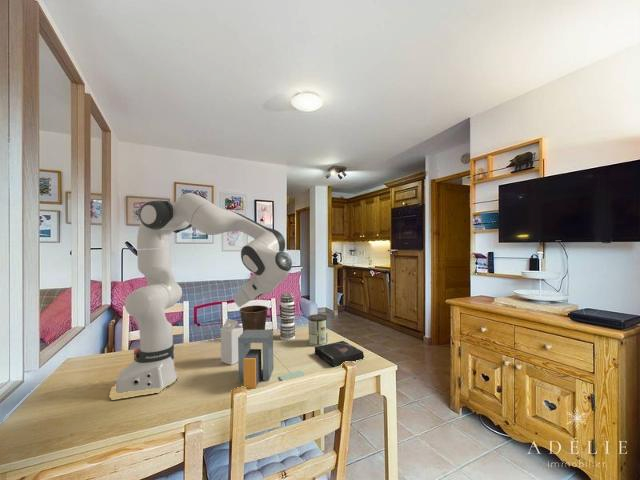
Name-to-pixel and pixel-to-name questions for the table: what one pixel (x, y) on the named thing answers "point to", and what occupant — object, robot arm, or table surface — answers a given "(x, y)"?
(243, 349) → the frame
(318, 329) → the coffee can
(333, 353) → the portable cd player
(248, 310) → the plant pot
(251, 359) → the orange and grey block
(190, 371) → the table surface
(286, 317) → the white and brown cylinder
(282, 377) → the pad
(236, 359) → the milk carton
